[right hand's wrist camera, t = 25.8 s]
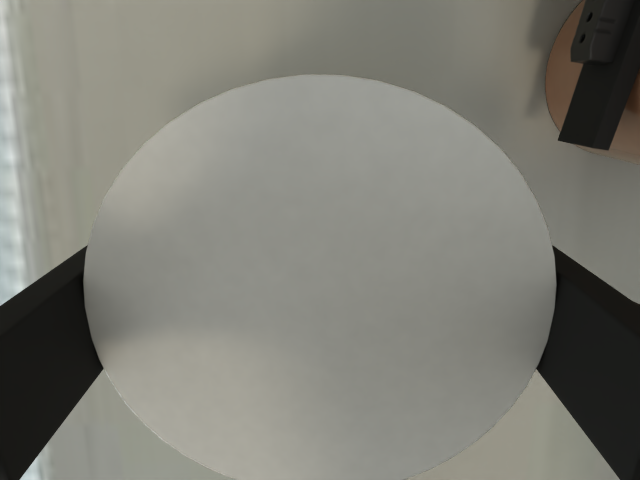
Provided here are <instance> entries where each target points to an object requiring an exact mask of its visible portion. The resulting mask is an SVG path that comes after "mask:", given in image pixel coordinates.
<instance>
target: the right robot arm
mask: <svg viewBox="0 0 640 480" xmlns="http://www.w3.org/2000/svg"><path fill="white" fill-rule="evenodd" d="M87 246H88V245H87ZM87 246H86V247H84V248H83V249H81V250H80V251H78V252H77V253H76V254H74V255H73V256H71V257H70V258H68V259H67V260H66V261H64V262H63V263H61V264H60V265H58V266H57V267H56V268H54V269H53V270H51V271H50V272H48V273H47V274H46V275H44V276H43V277H41V278H40V279H38V280H37V281H36V282H34V283H33V284H31V285H30V286H28V287H27V288H26V289H24V290H23V291H21V292H20V293H18V294H17V295H15V296H14V297H13V298H11V299H10V300H8V301H7V302H5V303H4V304H3V305H1V306H0V480H20V478H21V477H22V476H23V474H24V473H25V472H26V470H27V469H28V468H29V466H30V465H31V464H32V462H33V461H34V460H35V458H36V457H37V456H38V454H39V453H40V452H41V451H42V449H43V448H44V447H45V445H46V444H47V443H48V441H49V440H50V439H51V437H52V436H53V435H54V433H55V432H56V431H57V429H58V428H59V427H60V425H61V424H62V423H63V421H64V420H65V419H66V417H67V416H68V415H69V414H70V412H71V411H72V410H73V408H74V407H75V406H76V404H77V403H78V402H79V400H80V399H81V398H82V396H83V395H84V394H85V392H86V391H87V390H88V388H89V387H90V386H91V384H92V383H93V382H94V381H95V379H96V378H97V377H98V375H99V374H100V373H101V371H102V370H103V369H104V368H103V366H102V364H101V362H100V360H99V357H98V355H97V352H96V349H95V346H94V344H93V341H92V337H91V333H90V328H89V324H88V319H87V314H86V310H85V301H84V285H83V279H84V268H85V256H86V250H87ZM552 248H553V252H554V256H555V270H556V284H557V286H556V299H555V309H554V314H553V319H552V323H551V328H550V332H549V337H548V341H547V344H546V346H545V349H544V351H543V354H542V357H541V359H540V362H539V364H538V366H537V368H536V369H537V370H538V372H539V373H540V374H541V376H542V377H543V378H544V380H545V381H546V382H547V384H548V385H549V386H550V387H551V389H552V390H553V391H554V393H555V394H556V395H557V397H558V398H559V399H560V401H561V402H562V403H563V405H564V406H565V407H566V409H567V410H568V411H569V413H570V414H571V415H572V417H573V418H574V419H575V421H576V422H577V423H578V424H579V426H580V427H581V428H582V430H583V431H584V432H585V434H586V435H587V436H588V438H589V439H590V440H591V442H592V443H593V444H594V446H595V447H596V448H597V450H598V451H599V452H600V454H601V455H602V456H603V458H604V459H605V460H606V461H607V463H608V464H609V465H610V467H611V468H612V469H613V471H614V472H615V473H616V475H617V476H618V477H619V479H620V480H640V304H638V303H635V302H633V301H631V300H630V299H628V298H627V297H626V296H624V295H623V294H621V293H620V292H618V291H617V290H616V289H614V288H613V287H611V286H610V285H608V284H607V283H606V282H604V281H603V280H601V279H600V278H598V277H597V276H596V275H594V274H593V273H591V272H590V271H588V270H587V269H586V268H584V267H583V266H581V265H580V264H578V263H577V262H576V261H574V260H573V259H571V258H570V257H568V256H567V255H565V254H564V253H563V252H561V251H560V250H558V249H557V248H555V247H554V246H553V245H552Z"/></svg>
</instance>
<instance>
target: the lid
mask: <svg viewBox="0 0 640 480" xmlns="http://www.w3.org/2000/svg"><path fill="white" fill-rule="evenodd" d="M83 285H84V301H85V310H86V314H87V319H88V324H89V328H90V333H91V337H92V341H93V344H94V346H95V349H96V352H97V355H98V357H99V360H100V362H101V364H102V366H103V368H104V370H105V372H106V373H107V375H108V377H109V379H110V381H111V383H112V385H113V386H114V387H115V389H116V390H117V392H118V393H119V395H120V396H121V397H122V399H123V400H124V402H125V403H126V404H127V406H128V407H129V408H130V409H131V410H132V411H133V412H134V413H135V415H136V416H137V417H138V418H139V419H140V420H141V421H142V422H143V423H144V424H145V425H146V426H147V427H148V428H149V429H150V430H151V431H153V432H154V433H155V434H156V435H157V436H158V437H159V438H161V439H162V440H163V441H164V442H166V443H167V444H168V445H170V446H171V447H173V448H174V449H176V450H177V451H179V452H180V453H181V454H183V455H184V456H186V457H188V458H190V459H192V460H193V461H195V462H197V463H199V464H201V465H203V466H204V467H206V468H208V469H211V470H213V471H215V472H218V473H220V474H223V475H225V476H227V477H230V478H233V479H236V480H405V479H407V478H410V477H412V476H415V475H417V474H420V473H422V472H425V471H427V470H430V469H432V468H434V467H435V466H437V465H439V464H441V463H443V462H445V461H447V460H449V459H451V458H452V457H454V456H455V455H457V454H458V453H460V452H461V451H463V450H464V449H466V448H467V447H469V446H470V445H472V444H473V443H474V442H476V441H477V440H478V439H479V438H480V437H482V436H483V435H484V434H485V433H486V432H487V431H489V430H490V429H491V428H492V427H493V426H494V425H495V424H496V423H497V422H498V421H499V420H500V419H501V418H502V417H503V416H504V415H505V413H506V412H507V411H508V410H509V409H510V408H511V407H512V405H513V404H514V403H515V401H516V400H517V399H518V397H519V396H520V395H521V393H522V392H523V390H524V389H525V388H526V386H527V384H528V382H529V381H530V379H531V377H532V375H533V373H534V372H535V370H536V368H537V366H538V364H539V362H540V359H541V357H542V354H543V351H544V349H545V346H546V344H547V341H548V337H549V332H550V328H551V323H552V319H553V314H554V309H555V299H556V286H557V284H556V270H555V256H554V252H553V248H552V243H551V239H550V234H549V230H548V227H547V224H546V222H545V219H544V217H543V214H542V212H541V209H540V206H539V204H538V201H537V199H536V198H535V196H534V194H533V192H532V191H531V189H530V187H529V186H528V184H527V182H526V181H525V179H524V177H523V176H522V174H521V172H520V171H519V170H518V169H517V168H516V166H515V165H514V164H513V163H512V161H511V160H510V159H509V158H508V157H507V155H506V154H505V153H504V152H503V150H502V149H501V148H500V147H499V146H498V145H497V144H496V143H494V142H493V141H492V140H491V139H490V138H489V137H488V136H487V135H485V134H484V133H483V132H482V131H481V130H480V129H479V128H478V127H477V126H475V125H474V124H473V123H471V122H469V121H468V120H466V119H465V118H463V117H462V116H460V115H459V114H457V113H456V112H454V111H453V110H451V109H450V108H448V107H447V106H445V105H443V104H441V103H438V102H436V101H434V100H432V99H430V98H428V97H426V96H423V95H421V94H419V93H417V92H415V91H412V90H409V89H406V88H402V87H399V86H396V85H392V84H389V83H386V82H382V81H379V80H374V79H367V78H360V77H354V76H347V75H333V74H301V75H294V76H286V77H279V78H271V79H265V80H262V81H258V82H254V83H251V84H247V85H244V86H240V87H237V88H233V89H230V90H228V91H225V92H223V93H221V94H219V95H216V96H214V97H212V98H210V99H207V100H205V101H203V102H201V103H198V104H197V105H195V106H193V107H192V108H190V109H189V110H187V111H186V112H184V113H182V114H181V115H179V116H178V117H176V118H174V119H173V120H171V121H170V122H168V123H167V124H166V125H165V126H163V127H162V128H161V129H160V130H159V131H158V132H157V133H155V134H154V135H153V136H152V137H151V138H150V139H148V140H147V141H146V142H145V143H144V144H143V145H142V146H141V147H140V148H139V149H138V150H137V152H136V153H135V154H134V155H133V156H132V157H131V159H130V160H129V161H128V162H127V163H126V164H125V166H124V167H123V168H122V169H121V171H120V172H119V174H118V176H117V177H116V179H115V180H114V182H113V184H112V185H111V187H110V188H109V190H108V192H107V193H106V195H105V197H104V199H103V201H102V204H101V206H100V209H99V211H98V213H97V216H96V218H95V220H94V223H93V226H92V230H91V234H90V238H89V242H88V246H87V250H86V256H85V268H84V279H83Z"/></svg>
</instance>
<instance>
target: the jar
mask: <svg viewBox="0 0 640 480" xmlns="http://www.w3.org/2000/svg"><path fill="white" fill-rule="evenodd" d="M585 1H586V0H583V1H582V2H581V3H580V4H579V5H578V6H577V7H576V9H575V10H574V11H573V12H572V13H571V15H570V16H569V17H568V19H567V20H566V22H565V23H564V25H563V26H562V28H561V30H560V32H559V34H558V36H557V38H556V40H555V42H554V45H553V47H552V50H551V53H550V56H549V60H548V64H547V70H546V78H545V91H546V100H547V104H548V108H549V112H550V114H551V116H552V119H553V121H554V123H555V124H556V126H557V128H558V129H559V131H560V132H561V129H562V126H563V123H564V120H565V117H566V114H567V111H568V108H569V105H570V102H571V99H572V96H573V93H574V90H575V87H576V84H577V81H578V78H579V75H580V72H581V69H582V66H583V64H581V63H575V62H571V56H570V48H571V45H572V42H573V39H574V35H575V34H576V33H575V32H576V29H577V26H578V24H579V20H580V17H581V14H582V10H583V7H584V4H585ZM574 145H576V144H574ZM576 146H577V147H579V148H581V149H583V150H585V151H588V152H590V153H594V154H598V155H602V156H606V157H609V158H613V159H617V160H621V161H625V162H629V163H633V164H637V165H640V69H639V71H638V74H637V77H636V79H635V82H634V85H633V87H632V90H631V93H630V95H629V98H628V101H627V103H626V106H625V109H624V111H623V114H622V117H621V119H620V122H619V125H618V127H617V130H616V133H615V135H614V138H613V141H612V143H611V146H610V148H609V151H608V150H601V149H595V148H589V147H585V146H580V145H576Z"/></svg>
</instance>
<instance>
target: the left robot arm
mask: <svg viewBox="0 0 640 480" xmlns="http://www.w3.org/2000/svg"><path fill="white" fill-rule="evenodd" d="M575 33H576V34H575V35H574V39H573V42H572V45H571V48H570V56H571V62H575V63H581V64H583V66H582V69H581V72H580V75H579V78H578V81H577V84H576V87H575V90H574V93H573V96H572V99H571V102H570V105H569V108H568V111H567V114H566V117H565V120H564V123H563V126H562V129H561V132H560V135H559V138H558V141H562V142H567V143H571V144H576V145H580V146H585V147H589V148H595V149H601V150H608V151H609V148H610V146H611V143H612V141H613V138H614V135H615V133H616V130H617V127H618V125H619V122H620V119H621V117H622V114H623V111H624V109H625V106H626V103H627V101H628V98H629V95H630V93H631V90H632V87H633V85H634V82H635V79H636V77H637V74H638V71H639V69H640V0H586V1H585V4H584V7H583V10H582V14H581V17H580V20H579V24H578V26H577V29H576V32H575Z"/></svg>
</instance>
